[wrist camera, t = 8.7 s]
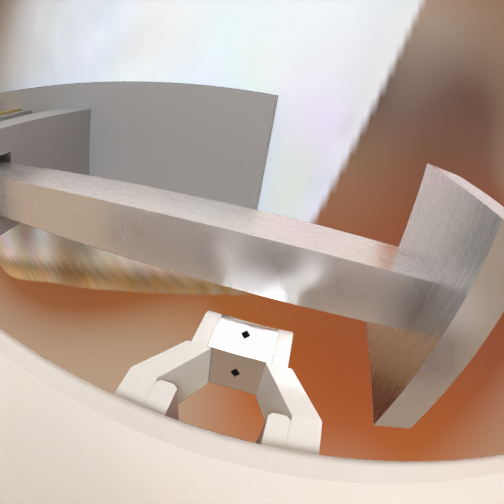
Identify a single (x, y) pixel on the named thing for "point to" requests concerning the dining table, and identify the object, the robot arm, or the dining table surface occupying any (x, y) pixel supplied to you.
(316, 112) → the dining table surface
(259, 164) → the bearing base
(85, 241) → the shaft
